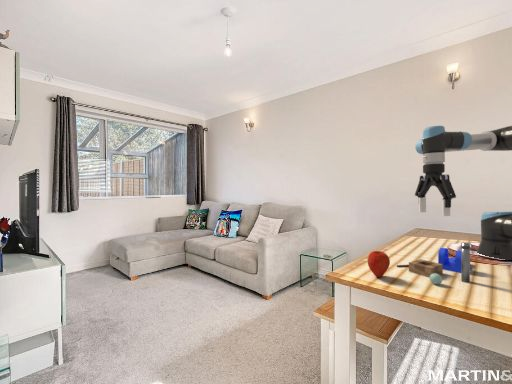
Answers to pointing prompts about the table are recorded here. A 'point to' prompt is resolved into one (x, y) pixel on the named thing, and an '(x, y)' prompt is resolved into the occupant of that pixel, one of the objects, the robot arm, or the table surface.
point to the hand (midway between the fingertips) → (433, 213)
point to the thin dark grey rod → (402, 265)
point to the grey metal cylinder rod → (465, 262)
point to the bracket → (449, 260)
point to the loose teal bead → (435, 278)
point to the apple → (378, 263)
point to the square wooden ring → (425, 267)
